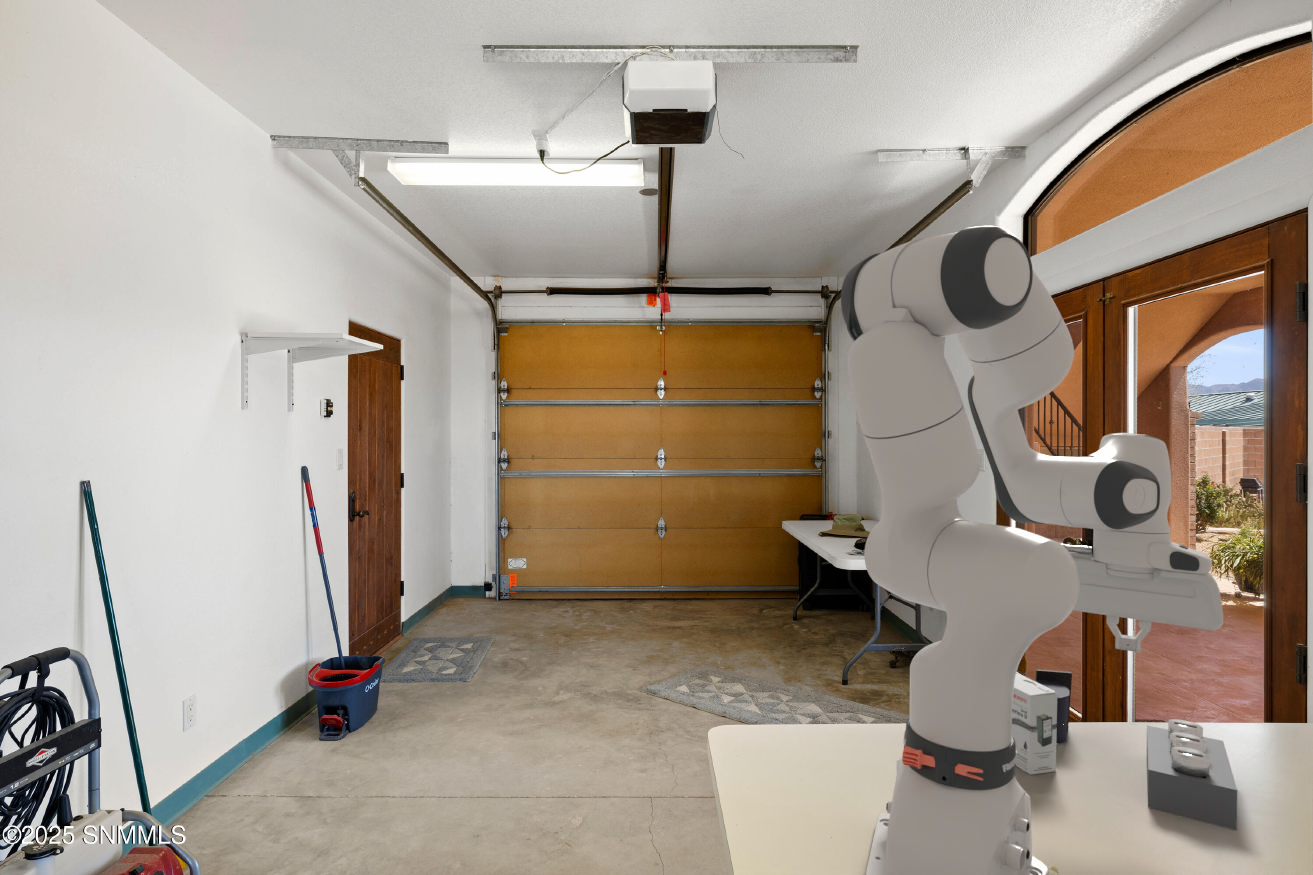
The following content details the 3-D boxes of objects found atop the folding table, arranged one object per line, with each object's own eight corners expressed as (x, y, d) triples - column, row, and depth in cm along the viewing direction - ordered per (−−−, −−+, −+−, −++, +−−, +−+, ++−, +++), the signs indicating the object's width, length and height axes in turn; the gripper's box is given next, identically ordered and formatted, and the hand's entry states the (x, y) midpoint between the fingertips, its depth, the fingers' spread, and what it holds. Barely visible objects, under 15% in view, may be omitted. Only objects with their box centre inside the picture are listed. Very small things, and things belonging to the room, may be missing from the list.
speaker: (1029, 720, 117) (1032, 662, 116) (1068, 730, 114) (1072, 671, 113) (1024, 741, 111) (1028, 680, 110) (1065, 752, 108) (1070, 689, 107)
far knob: (1203, 768, 97) (1204, 732, 97) (1168, 760, 99) (1168, 725, 99) (1201, 757, 100) (1201, 722, 100) (1167, 750, 102) (1167, 716, 102)
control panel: (1236, 829, 85) (1237, 790, 85) (1148, 806, 91) (1148, 769, 91) (1222, 775, 99) (1223, 740, 99) (1146, 757, 105) (1146, 725, 105)
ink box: (987, 749, 107) (988, 673, 107) (1013, 745, 108) (1014, 671, 108) (1030, 775, 99) (1030, 694, 99) (1058, 771, 100) (1059, 691, 100)
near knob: (1210, 802, 88) (1210, 762, 88) (1171, 792, 90) (1171, 754, 90) (1207, 789, 91) (1208, 751, 91) (1170, 780, 93) (1170, 743, 93)
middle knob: (1206, 784, 92) (1207, 746, 92) (1169, 776, 95) (1170, 739, 94) (1204, 772, 95) (1204, 736, 95) (1168, 764, 98) (1169, 729, 98)
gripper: (1042, 544, 99) (1039, 640, 99) (1226, 562, 87) (1223, 671, 87) (1047, 539, 104) (1045, 631, 104) (1222, 556, 92) (1219, 659, 92)
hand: (1128, 649), depth 95 cm, fingers closed
